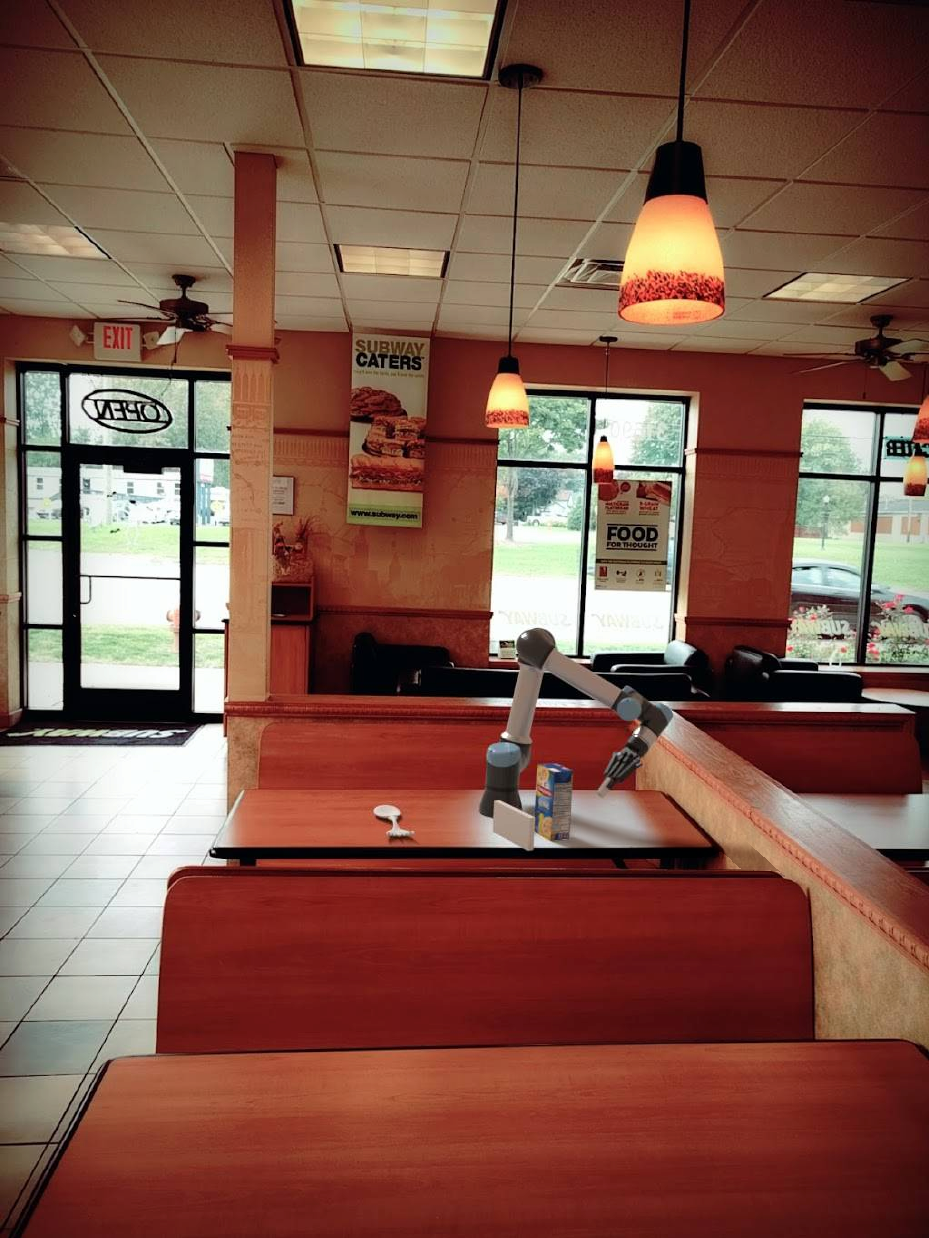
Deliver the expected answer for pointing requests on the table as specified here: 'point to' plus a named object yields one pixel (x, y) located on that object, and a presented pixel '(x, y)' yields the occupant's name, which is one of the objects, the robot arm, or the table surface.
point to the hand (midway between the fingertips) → (599, 794)
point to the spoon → (392, 814)
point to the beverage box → (553, 801)
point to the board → (514, 825)
